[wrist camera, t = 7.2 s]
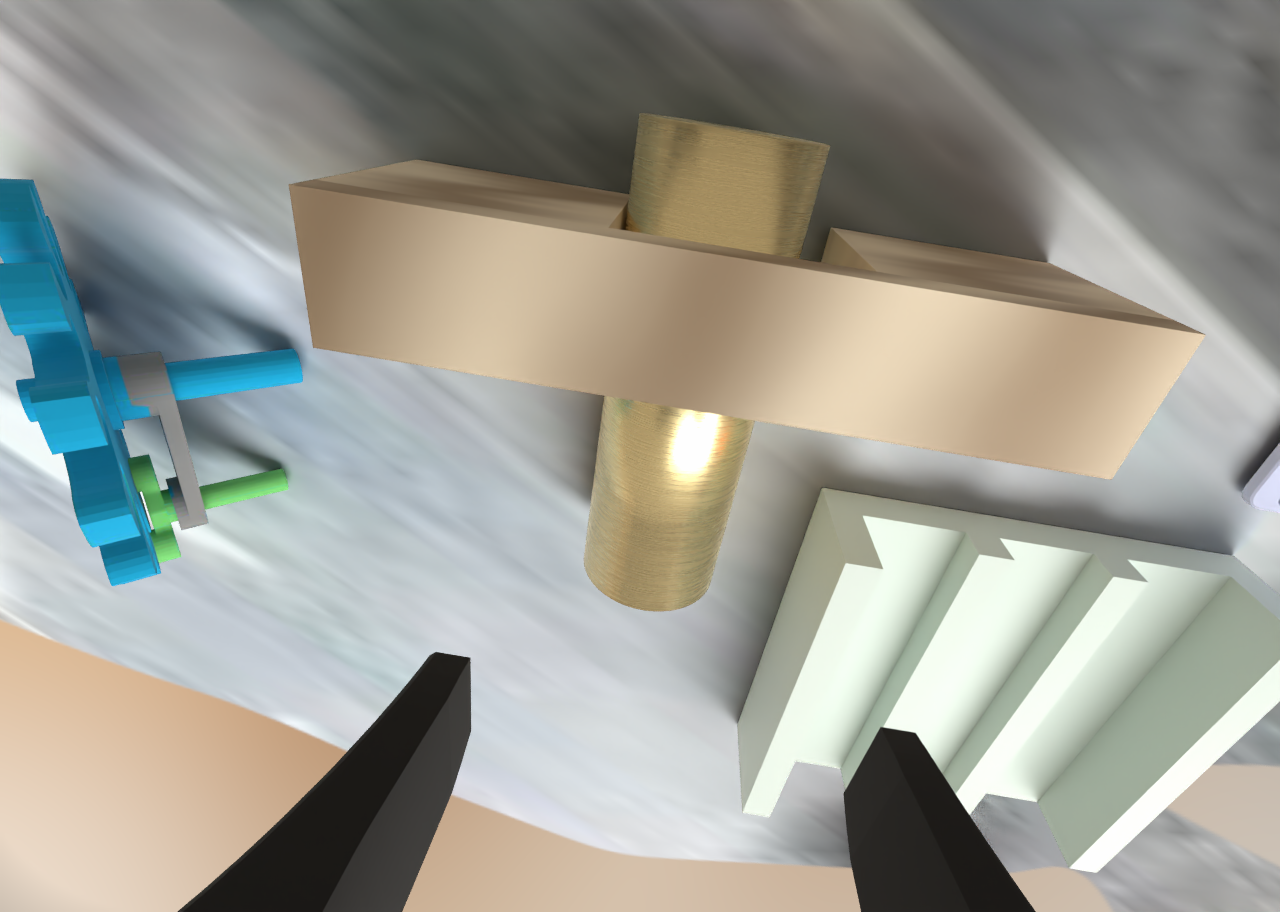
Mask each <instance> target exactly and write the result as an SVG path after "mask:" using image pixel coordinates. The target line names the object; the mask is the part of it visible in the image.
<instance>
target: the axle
mask: <svg viewBox="0 0 1280 912" xmlns="http://www.w3.org/2000/svg"><path fill="white" fill-rule="evenodd" d="M829 149H830V145H827V144H823V143H819V142H814V141H809V140H805V139H800V138H794V137H789V136H784V135H778V134H773V133H768V132H762V131H756V130H750V129H744V128H738V127H732V126H726V125H720V124H714V123H708V122H703V121H697V120H690V119H684V118H677V117H670V116H663V115H656V114H647V113H640V114H639V122H638V130H637V138H636V146H635V154H634V162H633V170H632V178H631V186H630V194H629V202H628V210H627V218H626V226H625V230H626V231H632V232H638V233H644V234H650V235H656V236H662V237H668V238H675V239H681V240H687V241H693V242H699V243H705V244H711V245H717V246H723V247H729V248H736V249H742V250H748V251H754V252H760V253H766V254H772V255H778V256H784V257H790V258H797V259H799V258H800V254H801V251H802V247H803V243H804V240H805V236H806V233H807V229H808V225H809V222H810V218H811V214H812V211H813V207H814V203H815V200H816V196H817V192H818V189H819V185H820V181H821V178H822V174H823V171H824V167H825V163H826V160H827V156H828V152H829ZM754 422H755V421H754V420H748V419H742V418H736V417H730V416H724V415H718V414H712V413H706V412H700V411H693V410H687V409H681V408H675V407H669V406H663V405H657V404H651V403H645V402H639V401H633V400H627V399H621V398H615V397H609V396H604V402H603V410H602V418H601V426H600V434H599V442H598V450H597V457H596V465H595V473H594V481H593V489H592V497H591V505H590V513H589V521H588V529H587V537H586V545H585V553H584V566H585V570H586V572H587V575H588V577H589V578H590V580H591V581H592V583H593V584H594V585H595V586H596V587H597V588H598V589H599V590H600V591H601V592H602V593H604V594H605V595H606V596H608V597H609V598H611V599H613V600H615V601H617V602H618V603H621V604H623V605H626V606H629V607H632V608H635V609H640V610H646V611H671V610H676V609H680V608H683V607H686V606H688V605H690V604H692V603H694V602H696V601H697V600H699V599H700V598H701V597H702V596H703V595H704V594H705V592H706V591H707V590H708V587H709V585H710V582H711V579H712V575H713V571H714V568H715V564H716V561H717V557H718V553H719V550H720V546H721V542H722V539H723V535H724V531H725V528H726V524H727V520H728V517H729V513H730V509H731V506H732V502H733V499H734V495H735V491H736V488H737V484H738V480H739V477H740V473H741V469H742V466H743V462H744V458H745V455H746V451H747V448H748V444H749V440H750V437H751V433H752V429H753V426H754Z"/></svg>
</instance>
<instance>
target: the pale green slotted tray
mask: <svg viewBox="0 0 1280 912" xmlns="http://www.w3.org/2000/svg"><path fill="white" fill-rule="evenodd" d="M1279 701H1280V595H1279V594H1278V593H1277V592H1276V591H1275V590H1273V589H1272V588H1271V587H1270V586H1269V585H1268V584H1266V583H1265V582H1264V581H1263V580H1262V579H1261V578H1259V577H1258V576H1257V575H1256V574H1255V573H1253V572H1252V571H1251V570H1250V569H1249V568H1248V567H1246V566H1245V565H1244V564H1243V563H1242V562H1241V561H1239V560H1238V559H1237V558H1236V557H1235V556H1231V555H1225V554H1219V553H1213V552H1207V551H1201V550H1195V549H1189V548H1183V547H1177V546H1171V545H1165V544H1159V543H1153V542H1147V541H1141V540H1135V539H1129V538H1123V537H1117V536H1111V535H1105V534H1099V533H1093V532H1087V531H1081V530H1075V529H1069V528H1063V527H1057V526H1051V525H1045V524H1039V523H1033V522H1026V521H1020V520H1014V519H1008V518H1002V517H996V516H990V515H984V514H978V513H972V512H966V511H960V510H954V509H948V508H942V507H936V506H930V505H924V504H918V503H912V502H906V501H900V500H894V499H888V498H882V497H876V496H870V495H864V494H858V493H852V492H846V491H840V490H834V489H828V488H822V489H821V492H820V495H819V497H818V500H817V503H816V506H815V509H814V511H813V514H812V517H811V520H810V523H809V525H808V528H807V531H806V534H805V537H804V540H803V542H802V545H801V548H800V551H799V554H798V556H797V559H796V562H795V565H794V568H793V570H792V573H791V576H790V579H789V582H788V584H787V587H786V590H785V593H784V596H783V598H782V601H781V604H780V607H779V610H778V612H777V615H776V618H775V621H774V624H773V626H772V629H771V632H770V635H769V638H768V640H767V643H766V646H765V649H764V652H763V654H762V657H761V660H760V663H759V666H758V668H757V671H756V674H755V677H754V680H753V682H752V685H751V688H750V691H749V694H748V696H747V699H746V702H745V705H744V708H743V710H742V713H741V716H740V719H739V722H738V724H737V728H738V745H739V763H740V780H741V797H742V813H746V814H752V815H758V816H764V817H770V815H771V813H772V811H773V809H774V807H775V804H776V802H777V800H778V798H779V796H780V794H781V791H782V789H783V787H784V785H785V783H786V781H787V778H788V776H789V774H790V772H791V770H792V767H793V765H794V763H795V761H797V762H803V763H809V764H815V765H821V766H827V767H833V768H839V769H841V773H842V778H843V782H844V787H845V790H846V788H847V786H848V785H849V783H850V781H851V779H852V777H853V776H854V774H855V772H856V770H857V768H858V767H859V765H860V763H861V761H862V759H863V758H864V756H865V754H866V752H867V750H868V749H869V747H870V745H871V743H872V741H873V740H874V738H875V736H876V734H877V732H878V731H879V729H880V727H885V728H891V729H897V730H903V731H909V732H915V733H916V734H917V736H918V737H919V739H920V740H921V742H922V743H923V745H924V746H925V748H926V749H927V751H928V752H929V754H930V755H931V757H932V758H933V760H934V761H935V763H936V765H937V766H938V768H939V769H940V771H941V772H942V774H943V775H944V777H945V778H946V780H947V782H948V783H949V785H950V786H951V788H952V789H953V791H954V792H955V794H956V795H957V797H958V799H959V800H960V802H961V803H962V805H963V806H964V808H965V809H966V811H967V812H968V814H969V815H970V814H971V812H972V811H973V810H974V808H975V807H976V806H977V805H978V803H979V802H980V801H981V799H982V798H983V797H984V795H985V794H986V793H987V794H993V795H999V796H1005V797H1011V798H1017V799H1023V800H1029V801H1034V802H1038V804H1039V806H1040V808H1041V811H1042V813H1043V815H1044V817H1045V819H1046V821H1047V823H1048V825H1049V827H1050V829H1051V831H1052V833H1053V836H1054V838H1055V840H1056V842H1057V844H1058V846H1059V848H1060V850H1061V852H1062V854H1063V856H1064V858H1065V861H1066V863H1067V865H1068V867H1069V868H1072V869H1077V870H1083V871H1089V872H1095V873H1097V872H1098V871H1099V870H1100V869H1101V868H1102V867H1103V866H1104V865H1105V864H1106V863H1107V862H1108V861H1110V860H1111V859H1112V858H1113V857H1114V856H1115V855H1116V854H1117V853H1118V852H1119V851H1120V850H1121V849H1122V848H1123V847H1124V846H1126V845H1127V844H1128V843H1129V842H1130V841H1131V840H1132V839H1133V838H1134V837H1135V836H1136V835H1137V834H1138V833H1139V832H1140V831H1142V830H1143V829H1144V828H1145V827H1146V826H1147V825H1148V824H1149V823H1150V822H1151V821H1152V820H1153V819H1154V818H1155V817H1157V816H1158V815H1159V814H1160V813H1161V812H1162V811H1163V810H1164V809H1165V808H1166V807H1167V806H1168V805H1169V804H1170V803H1171V802H1173V801H1174V800H1175V799H1176V798H1177V797H1178V796H1179V795H1180V794H1181V793H1182V792H1183V791H1184V790H1185V789H1186V788H1187V787H1188V786H1190V785H1191V784H1192V783H1193V782H1194V781H1195V780H1196V779H1197V778H1198V777H1199V776H1200V775H1201V774H1202V773H1204V771H1206V770H1207V769H1208V768H1209V767H1210V766H1211V765H1212V764H1213V763H1214V762H1215V761H1216V760H1217V759H1218V758H1220V757H1221V756H1222V755H1223V754H1224V753H1225V752H1226V751H1227V750H1228V749H1229V748H1230V747H1231V746H1232V745H1233V744H1234V743H1236V742H1237V741H1238V740H1239V739H1240V738H1241V737H1242V736H1243V735H1244V734H1245V733H1246V732H1247V731H1248V730H1249V729H1251V728H1252V727H1253V726H1254V725H1255V724H1256V723H1257V722H1258V721H1259V720H1260V719H1261V718H1262V717H1263V716H1264V715H1265V714H1267V713H1268V712H1269V711H1270V710H1271V709H1272V708H1273V707H1274V706H1275V705H1276V704H1277V703H1278V702H1279Z"/></svg>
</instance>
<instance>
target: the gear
mask: <svg viewBox="0 0 1280 912" xmlns="http://www.w3.org/2000/svg"><path fill="white" fill-rule="evenodd" d="M0 256H1V258H2V260H3V262H4V263H2V264H0V305H1V308H2V311H3V314H4V316H5V319H6V322H7V324H8V327H9V328H10V330H11V332H12V333H13V335H14V336H17V335H24V337H25V339H26V342H27V345H28V348H29V351H30V354H31V358H32V365H33V370H34V374H35V378H31V379H23V380H16V386H17V390H18V394H19V397H20V400H21V403H22V406H23V408H24V410H25V413H26V415H27V417H28V419H29V420H30V421H31V422H35V421H38V422H39V424H40V427H41V429H42V432H43V434H44V437H45V439H46V441H47V444H48V446H49V448H50V450H51V452H52V455H53V454H59V453H63V456H64V459H65V463H66V467H67V471H68V476H69V480H70V486H71V492H72V500H73V505H74V509H75V513H76V517H77V520H78V523H79V526H80V528H81V530H82V532H83V534H84V536H85V537H86V539H87V541H88V542H89V544H90V545H91V546H92V547H97V546H99V547H100V551H101V555H102V559H103V562H104V566H105V569H106V572H107V575H108V578H109V580H110V583H111V585H112V586H116V585H119V584H125V583H129V582H132V581H136V580H139V579H143V578H146V577H150V576H153V575H157V574H160V573H161V571H160V566H159V563H161V562H164V561H168V560H172V559H175V558H179V557H181V554H180V551H179V547H178V544H177V541H176V538H175V535H174V531H173V528H172V525H171V522H174V521H179V524H180V527H181V530H184V529H188V528H192V527H196V526H200V525H204V524H208V519H207V515H206V511H205V509H209V508H213V507H217V506H222V505H226V504H230V503H234V502H238V501H242V500H246V499H251V498H255V497H259V496H263V495H267V494H271V493H275V492H279V491H284V490H288V483H287V479H286V476H285V473H284V471H283V469H277V470H273V471H268V472H264V473H259V474H255V475H250V476H246V477H241V478H237V479H232V480H228V481H223V482H219V483H214V484H210V485H205V486H201V487H199V485H198V482H197V478H196V474H195V470H194V467H193V463H192V459H191V456H190V452H189V448H188V444H187V441H186V437H185V433H184V429H183V426H182V422H181V418H180V415H179V411H178V407H177V403H176V401H178V400H185V399H192V398H199V397H206V396H212V395H219V394H226V393H233V392H240V391H246V390H253V389H260V388H267V387H274V386H280V385H287V384H294V383H301V382H302V381H303V375H302V369H301V365H300V361H299V358H298V355H297V353H296V351H295V350H294V349H284V350H275V351H267V352H258V353H249V354H240V355H232V356H223V357H214V358H206V359H197V360H188V361H179V362H171V363H164V360H163V357H162V355H161V352H153V353H143V354H134V355H124V356H114V357H105V358H103V357H102V354H101V352H100V350H94V349H93V346H92V343H91V339H90V336H89V332H88V328H87V323H86V320H85V316H84V313H83V310H82V307H81V304H80V301H79V298H78V295H77V292H76V290H75V287H74V284H73V282H72V279H70V280H69V277H68V273H67V270H66V267H65V263H64V260H63V256H62V253H61V250H60V246H59V243H58V240H57V237H56V234H55V231H54V229H53V226H52V224H51V221H50V219H49V217H48V216H45V213H44V210H43V207H42V204H41V201H40V198H39V195H38V192H37V189H36V186H35V184H34V181H33V180H23V179H0ZM158 415H159V418H160V421H161V425H162V428H163V431H164V435H165V438H166V442H167V445H168V448H169V452H170V455H171V458H172V462H173V465H174V468H175V472H176V475H177V477H173V478H169V479H166V482H167V485H168V489H167V490H162V491H160V488H159V485H158V481H157V478H156V475H155V472H154V468H153V465H152V462H151V459H150V456H149V455H143V456H138V457H132V458H130V455H129V451H128V448H127V445H126V442H125V439H124V436H123V433H122V430H119V429H125V427H124V423H123V421H126V420H132V419H139V418H145V417H151V416H158ZM141 491H142V493H143V496H144V499H145V502H146V505H147V509H148V512H149V515H150V518H151V521H152V524H153V526H154V530H151V527H150V524H149V520H148V517H147V513H146V510H145V507H144V503H143V500H142V497H141V495H140V492H141Z"/></svg>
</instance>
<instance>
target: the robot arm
mask: <svg viewBox="0 0 1280 912" xmlns="http://www.w3.org/2000/svg"><path fill="white" fill-rule="evenodd" d="M1242 498H1243V499H1244V501H1245V502H1247V503H1248V504H1249V505H1251V506H1252V507H1254V508H1256V509H1259V510H1265V511H1271V512H1277V513H1280V443H1279V444H1278V445H1277V447H1276V448H1275V449H1274V450H1273V452H1272V453H1271V454H1270V455H1269V457H1268V458H1267V459H1266V460H1265V462H1264V463H1263V464H1262V465H1261V467H1260V468H1259V469H1258V470H1257V472H1256V473H1255V474H1254V476H1253V477H1252V478H1251V479H1250V481H1249V482H1248V483H1247V484H1246V486H1245V487H1244V489H1243V491H1242ZM470 732H471V672H470V658H468V657H462V656H457V655H451V654H445V653H439V652H435V653H433V654H432V655H430V656H429V657H428V658H427V660H426V661H425V662H424V664H423V665H422V666H421V667H420V669H419V670H418V671H417V672H416V674H415V675H414V676H413V677H412V679H411V680H410V681H409V682H408V684H407V685H406V686H405V687H404V688H403V690H402V691H401V692H400V693H399V694H398V696H397V697H396V698H395V699H394V700H393V701H392V703H391V704H390V705H389V706H388V707H387V708H386V709H385V711H384V712H383V713H382V714H381V715H380V716H379V718H378V719H377V720H376V721H375V722H374V723H373V724H372V725H371V727H370V728H369V729H368V730H367V731H366V732H365V733H364V734H363V735H362V736H361V737H360V738H359V740H358V741H357V742H356V743H355V744H354V745H353V746H352V747H351V748H350V749H349V750H348V752H347V753H346V754H345V755H344V756H343V757H342V758H341V759H340V760H339V761H338V762H337V764H336V765H335V766H334V767H333V768H332V769H331V770H330V771H329V772H328V773H327V774H326V775H325V776H324V777H323V778H322V779H321V780H320V781H319V782H318V783H317V784H316V785H315V786H314V787H313V788H312V789H311V790H310V791H309V792H308V793H307V794H306V795H305V796H304V797H303V798H302V799H301V800H300V801H299V802H298V803H297V804H296V805H295V806H294V807H293V808H292V809H291V810H290V811H289V812H288V813H287V814H286V815H285V816H284V817H283V818H282V819H281V820H280V821H279V822H278V823H277V824H276V825H274V826H273V827H272V828H271V829H270V830H269V831H268V832H267V833H266V834H265V835H264V836H263V837H262V838H261V839H260V840H258V841H257V842H256V843H255V844H254V845H253V846H252V847H251V848H250V849H249V850H248V851H246V852H245V853H244V854H243V855H242V856H241V857H240V858H239V859H238V860H237V861H236V862H234V863H233V864H232V865H231V866H230V867H229V868H228V869H227V870H225V871H224V872H223V873H222V874H221V875H220V876H219V877H217V878H216V879H215V880H214V881H213V882H212V883H211V884H210V885H208V887H206V888H205V889H204V890H203V891H202V892H200V893H199V894H198V895H197V896H196V897H194V898H193V899H192V900H191V901H190V902H188V903H187V904H186V905H185V906H184V907H182V908H181V909H180V910H179V911H178V912H402V911H403V908H404V906H405V904H406V901H407V899H408V897H409V894H410V892H411V889H412V887H413V885H414V882H415V880H416V877H417V875H418V873H419V870H420V868H421V865H422V863H423V861H424V858H425V856H426V854H427V851H428V849H429V847H430V844H431V842H432V839H433V837H434V835H435V832H436V830H437V827H438V824H439V822H440V820H441V818H442V815H443V813H444V810H445V808H446V806H447V803H448V801H449V798H450V796H451V793H452V791H453V788H454V784H455V781H456V778H457V775H458V772H459V769H460V765H461V762H462V759H463V756H464V752H465V749H466V746H467V742H468V739H469V736H470ZM844 804H845V814H846V825H847V835H848V843H849V852H850V860H851V865H852V870H853V875H854V879H855V884H856V889H857V894H858V898H859V903H860V908H861V912H1035V910H1034V909H1033V907H1032V906H1031V904H1030V903H1029V902H1028V900H1027V899H1026V897H1025V896H1024V895H1023V893H1022V892H1021V890H1020V889H1019V887H1018V886H1017V885H1016V883H1015V882H1014V880H1013V879H1012V877H1011V876H1010V874H1009V873H1008V872H1007V870H1006V869H1005V867H1004V866H1003V864H1002V863H1001V861H1000V860H999V858H998V857H997V856H996V854H995V853H994V851H993V850H992V848H991V847H990V845H989V844H988V842H987V841H986V839H985V838H984V836H983V835H982V833H981V832H980V830H979V829H978V827H977V826H976V824H975V823H974V821H973V820H972V818H971V817H970V815H969V814H968V812H967V811H966V809H965V808H964V806H963V805H962V803H961V802H960V800H959V799H958V797H957V795H956V794H955V792H954V791H953V789H952V788H951V786H950V785H949V783H948V782H947V780H946V778H945V777H944V775H943V774H942V772H941V771H940V769H939V768H938V766H937V765H936V763H935V761H934V760H933V758H932V757H931V755H930V754H929V752H928V751H927V749H926V748H925V746H924V745H923V743H922V742H921V740H920V739H919V737H918V736H917V734H916V733H915V732H909V731H903V730H897V729H891V728H885V727H880V729H879V731H878V732H877V734H876V736H875V738H874V740H873V741H872V743H871V745H870V747H869V749H868V750H867V752H866V754H865V756H864V758H863V759H862V761H861V763H860V765H859V767H858V768H857V770H856V772H855V774H854V776H853V777H852V779H851V781H850V783H849V785H848V786H847V788H846V790H845V792H844Z"/></svg>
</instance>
